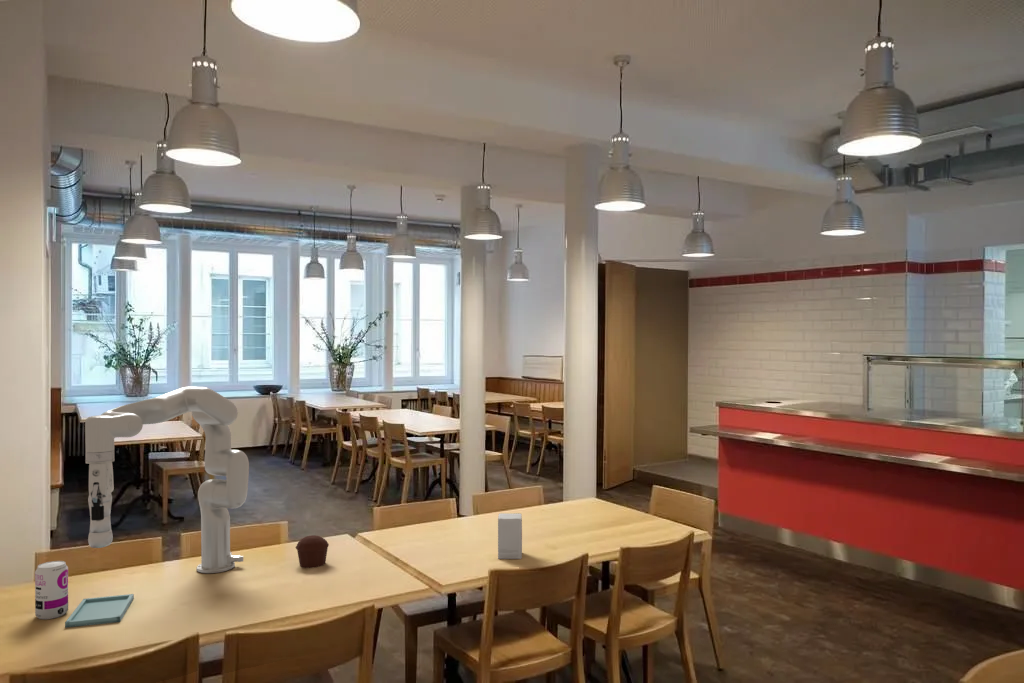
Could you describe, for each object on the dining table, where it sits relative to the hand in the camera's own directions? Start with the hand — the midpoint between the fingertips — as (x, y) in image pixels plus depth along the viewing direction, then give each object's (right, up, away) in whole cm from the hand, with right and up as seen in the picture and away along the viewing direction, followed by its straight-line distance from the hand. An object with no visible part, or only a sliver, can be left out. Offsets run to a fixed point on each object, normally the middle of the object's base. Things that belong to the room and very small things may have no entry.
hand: (100, 516), depth 218 cm
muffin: (+51, -29, +46) cm, 74 cm away
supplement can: (-13, -29, -2) cm, 32 cm away
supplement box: (+122, -28, +55) cm, 137 cm away
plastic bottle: (0, -9, 0) cm, 9 cm away
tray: (0, -29, 0) cm, 29 cm away
